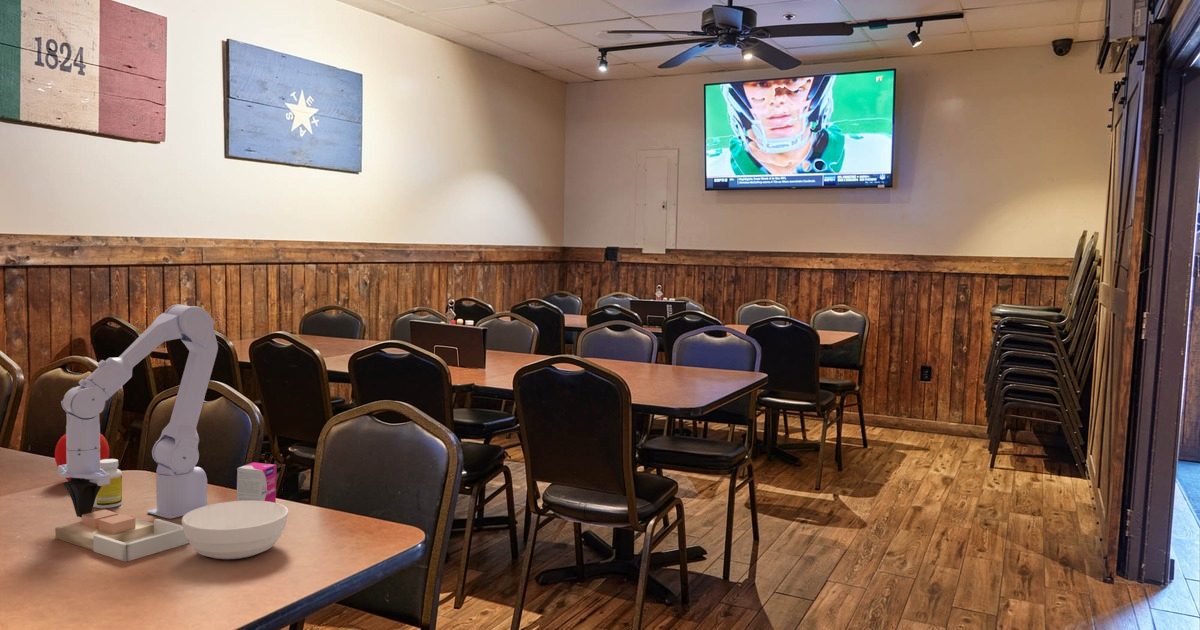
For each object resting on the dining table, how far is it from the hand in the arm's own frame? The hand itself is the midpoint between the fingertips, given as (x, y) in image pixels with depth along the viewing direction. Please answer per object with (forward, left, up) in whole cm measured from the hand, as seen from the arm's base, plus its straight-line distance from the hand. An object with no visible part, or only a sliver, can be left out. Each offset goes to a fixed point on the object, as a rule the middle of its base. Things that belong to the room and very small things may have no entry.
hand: (83, 515), depth 172 cm
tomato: (-20, -35, -3) cm, 41 cm away
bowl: (-8, +35, -3) cm, 36 cm away
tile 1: (0, +5, -1) cm, 6 cm away
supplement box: (-23, +22, -3) cm, 32 cm away
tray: (0, +19, -3) cm, 19 cm away
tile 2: (0, +11, -1) cm, 11 cm away
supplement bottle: (-12, -12, -3) cm, 17 cm away
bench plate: (0, +7, -3) cm, 8 cm away
